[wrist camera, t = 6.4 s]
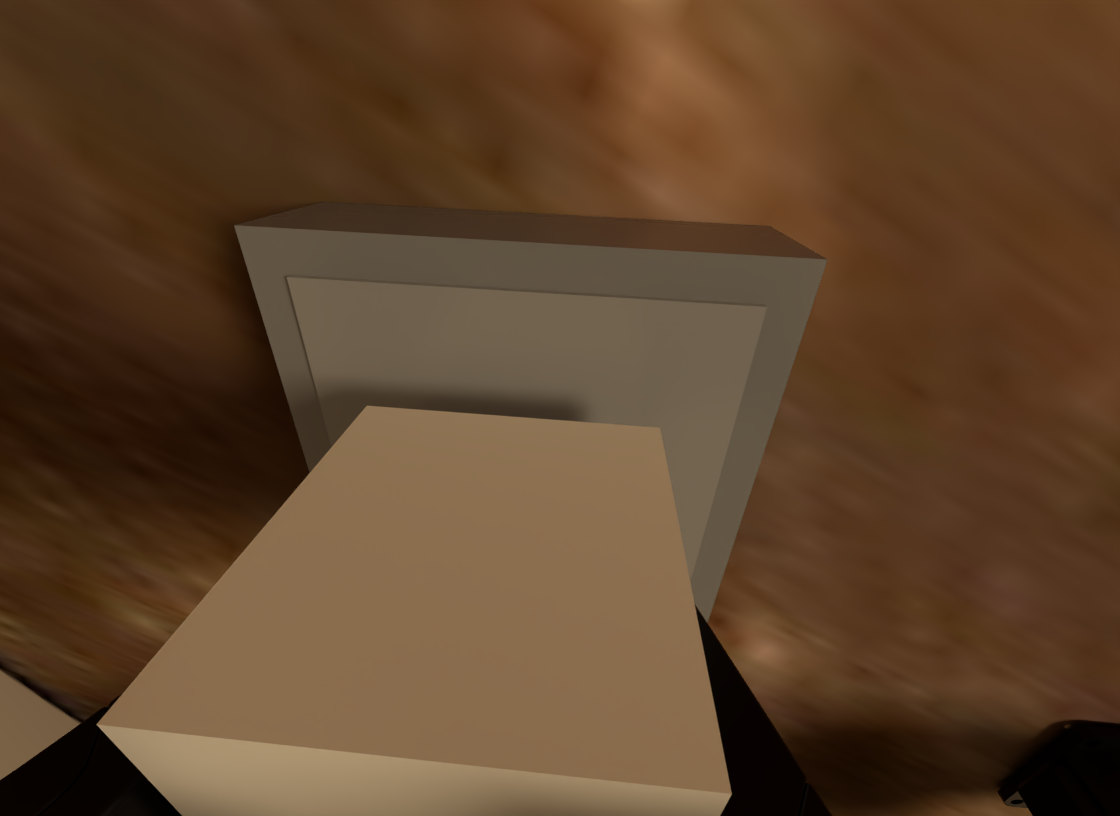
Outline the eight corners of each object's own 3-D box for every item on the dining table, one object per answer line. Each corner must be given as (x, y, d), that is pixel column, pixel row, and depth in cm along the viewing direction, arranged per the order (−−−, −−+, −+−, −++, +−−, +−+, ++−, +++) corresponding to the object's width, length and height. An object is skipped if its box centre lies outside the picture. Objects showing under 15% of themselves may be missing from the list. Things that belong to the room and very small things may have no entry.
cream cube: (660, 427, 8) (732, 794, 3) (626, 614, 10) (643, 957, 6) (366, 405, 8) (95, 724, 4) (405, 594, 11) (272, 911, 6)
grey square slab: (770, 226, 10) (831, 261, 7) (687, 547, 15) (705, 637, 13) (322, 201, 11) (228, 226, 8) (389, 522, 16) (345, 603, 13)
